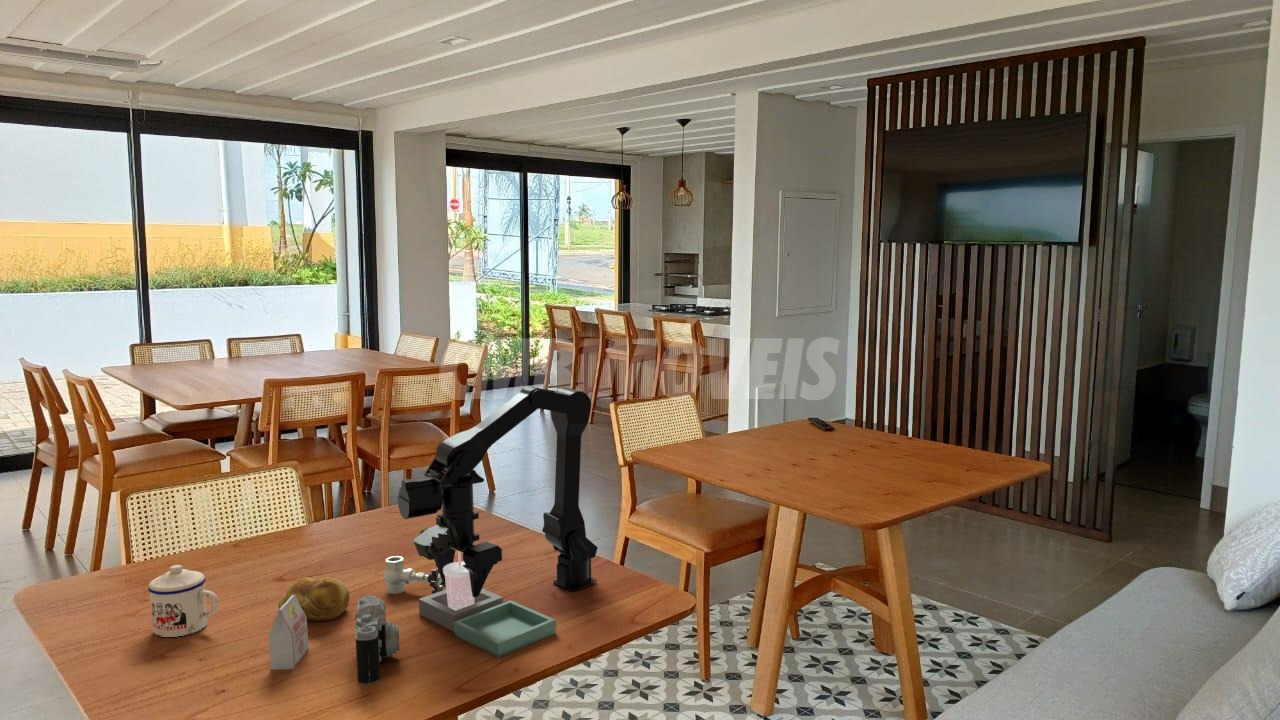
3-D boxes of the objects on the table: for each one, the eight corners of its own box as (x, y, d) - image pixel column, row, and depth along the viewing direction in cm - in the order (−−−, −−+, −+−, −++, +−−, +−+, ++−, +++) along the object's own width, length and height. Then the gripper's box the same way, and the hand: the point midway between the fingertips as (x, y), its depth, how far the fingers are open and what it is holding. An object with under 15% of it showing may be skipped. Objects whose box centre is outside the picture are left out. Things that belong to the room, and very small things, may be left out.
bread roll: (268, 622, 161) (265, 580, 160) (299, 601, 171) (297, 561, 170) (332, 628, 159) (329, 585, 158) (360, 606, 168) (358, 566, 167)
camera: (400, 680, 140) (397, 619, 138) (355, 686, 138) (352, 625, 136) (399, 639, 154) (396, 585, 152) (358, 645, 152) (355, 589, 151)
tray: (510, 613, 164) (510, 600, 164) (555, 633, 156) (555, 619, 155) (454, 635, 155) (453, 621, 155) (498, 657, 147) (498, 643, 146)
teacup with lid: (140, 638, 155) (134, 574, 153) (174, 616, 164) (169, 556, 162) (203, 641, 153) (198, 577, 152) (234, 619, 162) (229, 558, 161)
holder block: (468, 596, 172) (467, 581, 172) (503, 612, 165) (503, 597, 164) (419, 614, 164) (418, 598, 164) (454, 631, 157) (453, 615, 156)
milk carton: (271, 669, 143) (267, 610, 142) (286, 650, 150) (283, 594, 149) (293, 669, 143) (290, 610, 142) (308, 650, 150) (305, 593, 149)
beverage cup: (485, 611, 165) (482, 539, 163) (462, 623, 160) (459, 548, 158) (461, 604, 168) (458, 533, 167) (437, 615, 163) (434, 542, 161)
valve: (378, 596, 173) (435, 601, 170) (376, 564, 172) (433, 568, 169) (394, 584, 179) (449, 588, 177) (392, 552, 178) (448, 556, 176)
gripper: (391, 508, 162) (395, 589, 164) (450, 530, 149) (453, 618, 152) (442, 495, 170) (445, 572, 172) (503, 515, 157) (505, 598, 160)
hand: (460, 590), depth 164 cm, fingers open, 9 cm apart
